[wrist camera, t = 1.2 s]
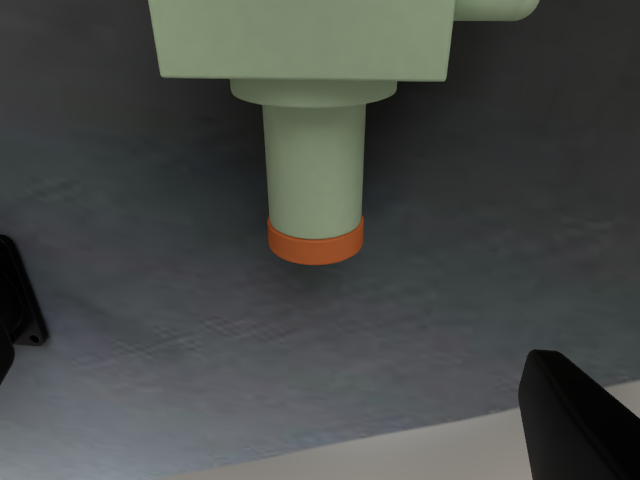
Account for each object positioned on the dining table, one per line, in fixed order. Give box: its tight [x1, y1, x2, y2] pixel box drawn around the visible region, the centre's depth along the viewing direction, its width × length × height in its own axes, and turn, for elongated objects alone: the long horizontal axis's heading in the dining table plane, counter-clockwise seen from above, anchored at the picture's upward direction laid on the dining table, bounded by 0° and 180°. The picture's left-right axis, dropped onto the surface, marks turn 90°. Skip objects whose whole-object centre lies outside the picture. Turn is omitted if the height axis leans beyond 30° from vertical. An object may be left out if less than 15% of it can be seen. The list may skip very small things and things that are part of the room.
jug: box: [148, 0, 539, 265], centre depth 13 cm, size 6×10×15 cm
